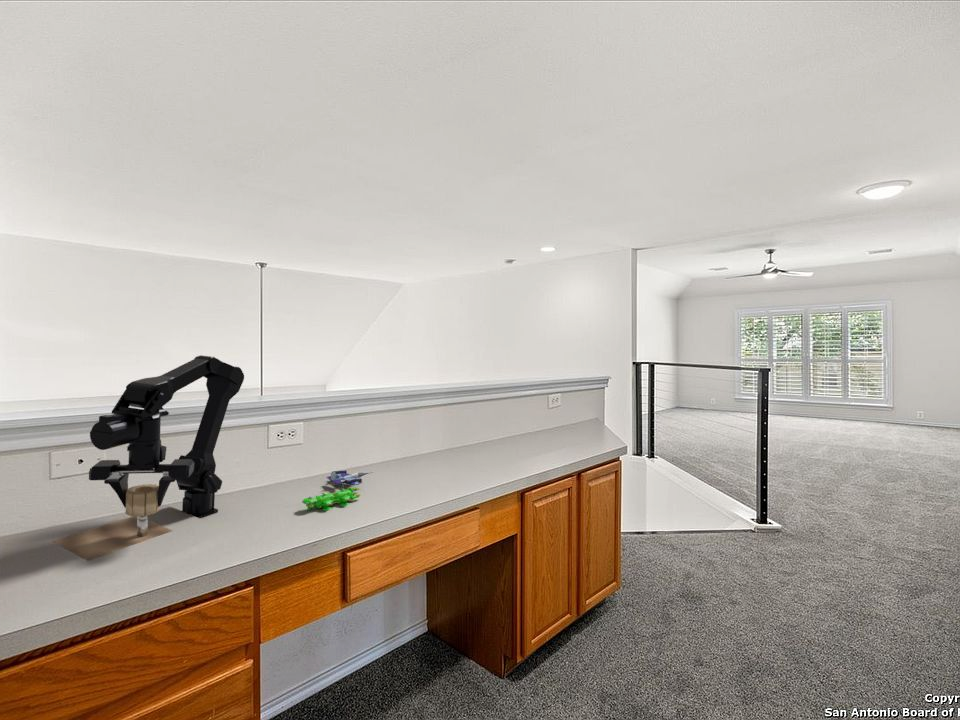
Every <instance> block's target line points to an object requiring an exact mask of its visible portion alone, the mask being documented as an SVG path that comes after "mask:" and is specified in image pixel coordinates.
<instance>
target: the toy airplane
mask: <svg viewBox="0 0 960 720" xmlns="http://www.w3.org/2000/svg"><path fill="white" fill-rule="evenodd" d="M372 473H374V471H373V472H372V471H371V472H370V474H372ZM368 474H369V472H362V471H358V472H356V473H353V474H351V473H348V471H347V470H335V471H331V474H330V476H326V478H327V479H328V480H329V481H330V482H332V483H334V486H338V485H341V484H342V485H341V487H340V488H341V490H342V489H345V485H344V484H346V485H352V486H359V485H360V483H362V481H363V479H362V478H361V477H363V476H365V475H368Z"/></svg>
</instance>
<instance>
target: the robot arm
mask: <svg viewBox="0 0 960 720" xmlns="http://www.w3.org/2000/svg"><path fill="white" fill-rule="evenodd" d="M202 378H205V379H206V383H205V386H206V389H207V393H208V397H207V398H208V399H207V401H206V404H205V407H204V411H203V413H202V416H201V420H200V422H199V426H198V429H197V432H196V435H195V437H194V438H195V439H194V442H193V444H192V448H191V450H190V451H189V452H188V453H187V454H185V455H182V454H181V455H180V457H179V458H176V459H174V460H173V461H172V462H171V463H163V464H162V462H164V461H165V460H166V456H167V455H166V454H167V446H165V445H162V439H161V422H162V421H161V419H162V418H161V417H166V416H169V415H170V412H169V411H168V410H166V409H164V406H165V405H167V404H168V403H169V402H170V401H171V400H172V399H173V396H174V394H175V393H176V392H178V391H179V390H181V389H183V388H185V387H187V386H188V385H190V384H192V383H194V382H196V381H198V380H199V379H202ZM244 380H245V374H244V371H243V370H242V369H241V368H240V367H239V366H235V365H232V364H229V363H226V362H224V361H221V360H220V359H219V358H216V357H215V356H210V355H202V354H200V355H197V356H195V357H194V358H192V360H190V361H187V362H185V363H184V364H182V365H179V366H177V367H176V368H173V369H172V370H169V371H168V372H167V371H166V372H165V373H163V374H160V375H158V376H151V377H145V378H140V379H138V380H134V381H131V382H130V383H127V385H126V386H125V388H126V389H125V390H124V391H123V393H122V394H121V396H120V398H119V399H118V400H117V402H116V404H115V405H114V407H113V409H112V410H111V414H103V415H99V416H98V422H96V423H94V424H93V425H92V428H91V430H90V432H89V438H90V442H91V443H92V445H93V447H95V448H96V449H98V450H100V451H105V450H109V449H112V448H113V449H114V448H117V447H120V446H124V445H127V444H128V445H127V446H126V451H127V452H128V464H121V461H120V459H100V460H99V461H98V462H96V463H95V464H94V465H93V466H92V467H90V469H89V471H88V480H90V481H104V482H103V483H104V484H105V485H109V486H110V487H111V489H112V490H113V491H114V492H115V493H116V495H117V496H118V498H119V500H120V502H121V503H122V505H123V507H124V509H126V491H127V490H128V489H129V475H130V474H131V475H132V474H162V477H161V478H160V479H159V481H158V486H159V489H158V500H157V501H158V506H160V507H161V506H162V503H163V501H164V498H165V497H166V494H167V491H168V489H169V487H170V484H171V483H174V482H176V485H177V488H178V490H179V491H184V495H183V497H182V509H181V512H182V513H184V514H185V513H186V514H188V515H190V516H192V517H195V518H197V519H201V518H204V517H207V516H209V515H212V514H214V513H218V512H219V509H218V508H216V507H215V499H216V498H215V495H216V493H218V491H219V490H221V488H222V485H223V480H222V479H221V478H220V477H219V476H217V474H216V473H215V472H216V467H217V465H216V464H217V463H216V461H215V456H214V451H215V448H216V444H217V442H218V437H219V435H220V432H221V428H222V425H223V423H224V419H225V417H226V413H227V409H228V406H229V403H230V401H231V399H233V397H234V396H236V395H237V394H238V393H239V392H240V389H241V387H242V385H243V382H244ZM160 463H161V464H160Z"/></svg>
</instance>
